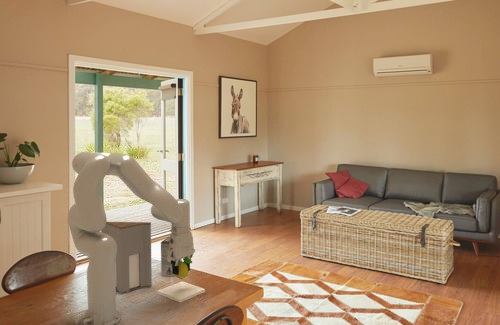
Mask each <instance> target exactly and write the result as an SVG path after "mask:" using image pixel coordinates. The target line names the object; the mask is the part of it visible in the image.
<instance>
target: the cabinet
mask: <svg viewBox="0 0 500 325" xmlns="http://www.w3.org/2000/svg"><path fill="white" fill-rule="evenodd" d="M100 232H102V233H105V234H107V235H109V236H111V237H112V238H113V239H114V240H115V241H116V243H117V256H116V263H115V280H116V293H117V292H118V293H119V294H121V295H124V294H127V293H131V292H134V291H136V290H140V289H143V288H151V287H152V286H153V284H152V282H153V281H152V278H153V277H152V276H153V275H152V222H150V221H149V222H147V221H146V222H145V221H144V222H143V221H142V222H139V221H138V222H137V221H107V222H106V226H105V227H104V229H102V230H101V231H100Z"/></svg>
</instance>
